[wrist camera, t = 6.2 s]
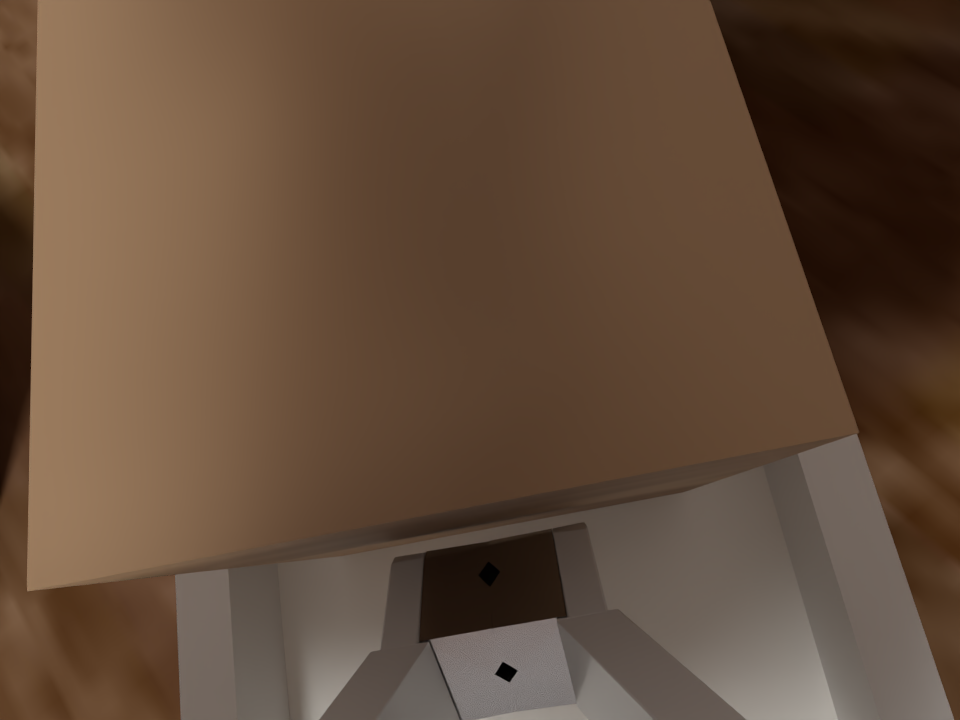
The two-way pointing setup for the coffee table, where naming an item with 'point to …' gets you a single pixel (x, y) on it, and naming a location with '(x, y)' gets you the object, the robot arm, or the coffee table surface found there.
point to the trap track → (620, 603)
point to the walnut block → (395, 277)
